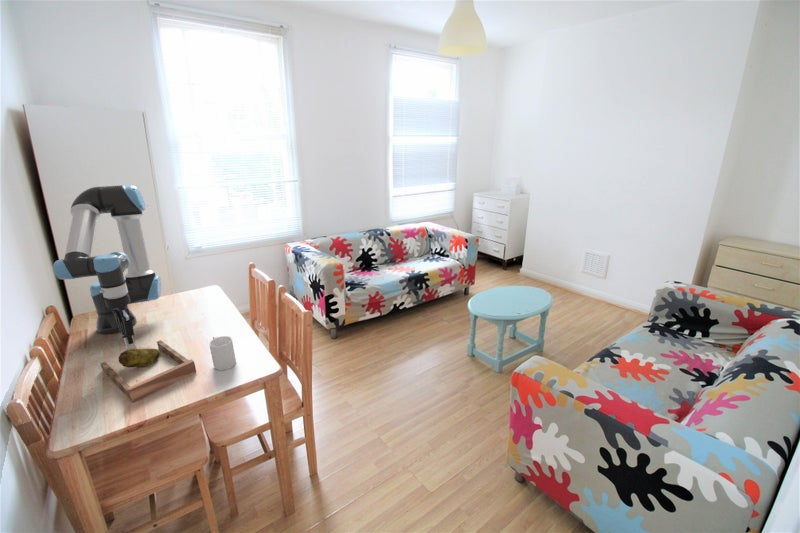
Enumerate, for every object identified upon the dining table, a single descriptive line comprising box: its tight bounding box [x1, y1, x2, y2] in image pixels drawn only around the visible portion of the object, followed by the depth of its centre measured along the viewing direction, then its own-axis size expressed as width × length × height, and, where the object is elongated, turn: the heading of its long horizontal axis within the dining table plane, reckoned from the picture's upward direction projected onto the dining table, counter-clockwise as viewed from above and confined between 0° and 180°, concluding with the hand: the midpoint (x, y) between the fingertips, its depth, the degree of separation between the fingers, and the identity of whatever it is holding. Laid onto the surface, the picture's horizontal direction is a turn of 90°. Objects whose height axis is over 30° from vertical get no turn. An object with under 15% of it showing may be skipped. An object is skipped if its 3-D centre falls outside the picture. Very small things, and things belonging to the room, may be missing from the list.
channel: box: [100, 339, 197, 403], centre depth 140 cm, size 30×21×5 cm
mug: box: [208, 335, 237, 371], centre depth 144 cm, size 12×8×10 cm, turn 43°
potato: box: [118, 347, 161, 369], centre depth 143 cm, size 8×13×8 cm, turn 124°
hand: (131, 349), depth 147 cm, fingers closed
